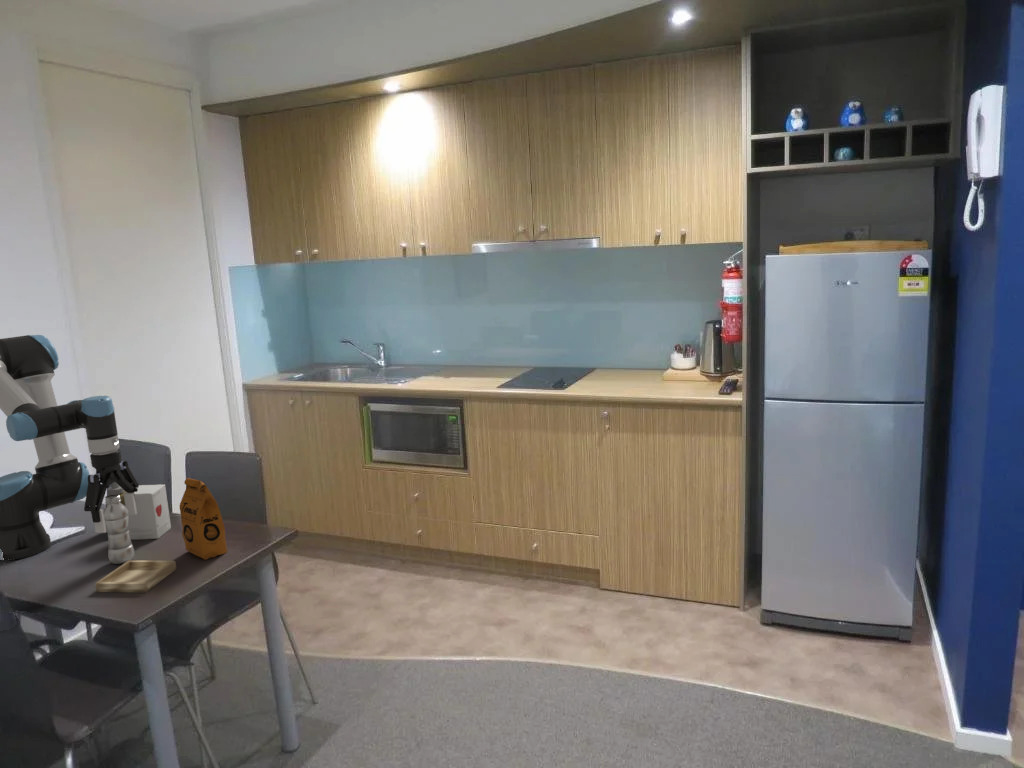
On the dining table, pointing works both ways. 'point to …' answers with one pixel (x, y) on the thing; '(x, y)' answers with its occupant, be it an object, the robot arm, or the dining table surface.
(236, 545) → the dining table surface
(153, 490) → the supplement box
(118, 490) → the squeeze bottle
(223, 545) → the coffee package
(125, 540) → the plastic bottle
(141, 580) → the bamboo tray
